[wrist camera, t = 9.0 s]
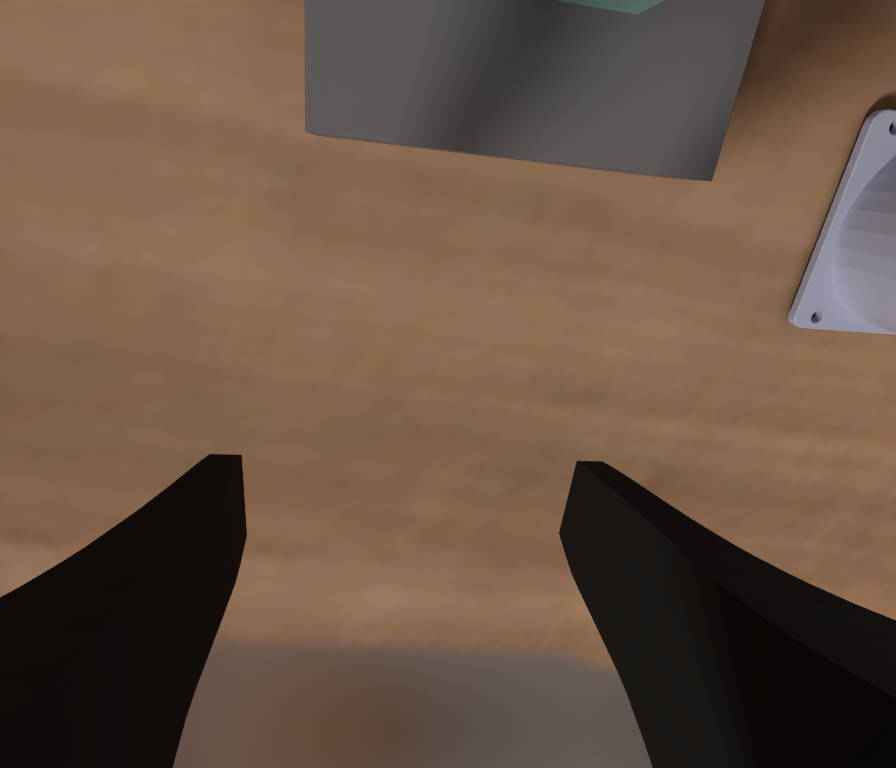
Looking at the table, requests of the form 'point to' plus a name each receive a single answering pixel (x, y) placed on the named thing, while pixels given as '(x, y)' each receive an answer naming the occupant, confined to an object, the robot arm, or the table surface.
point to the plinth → (532, 79)
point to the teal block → (618, 4)
